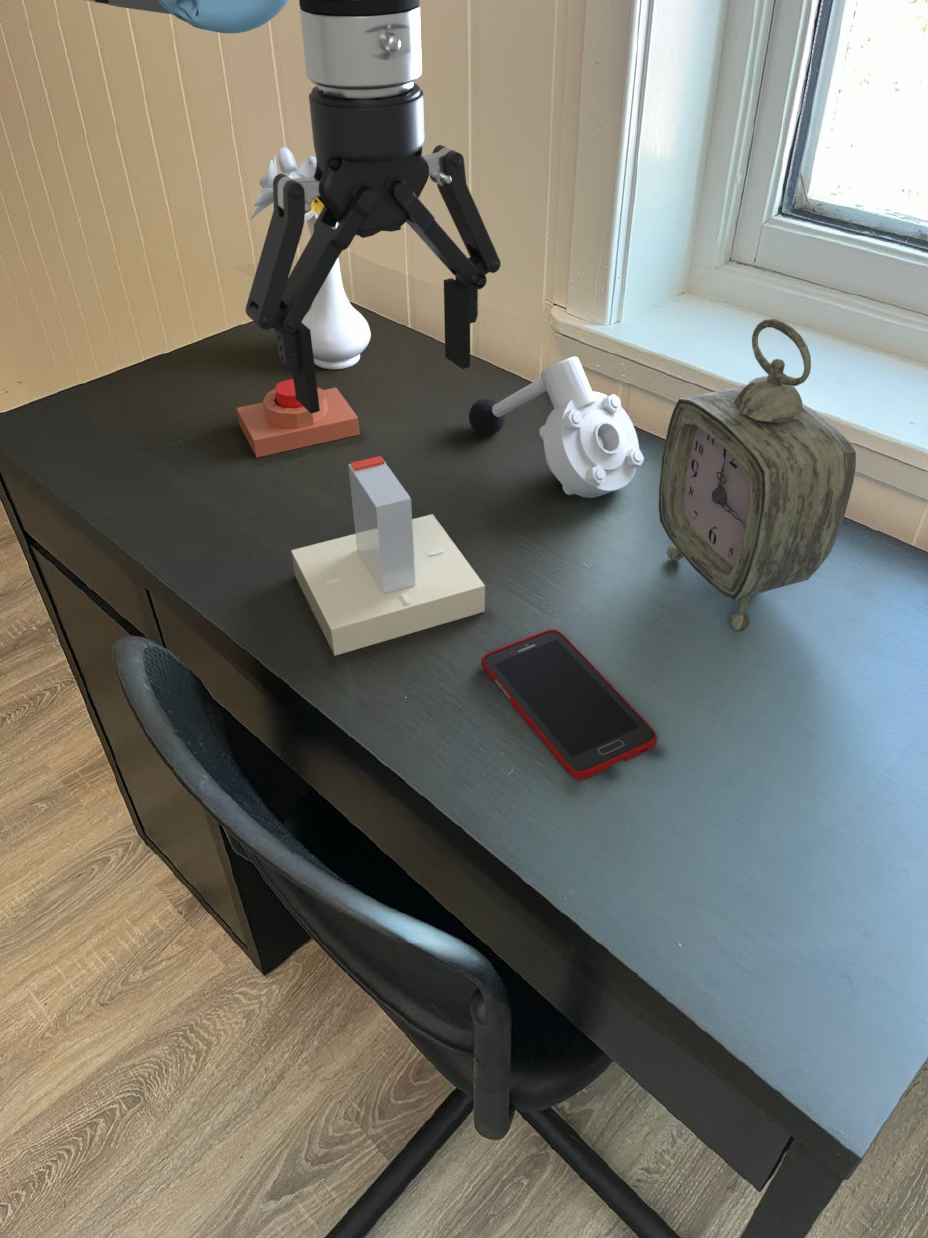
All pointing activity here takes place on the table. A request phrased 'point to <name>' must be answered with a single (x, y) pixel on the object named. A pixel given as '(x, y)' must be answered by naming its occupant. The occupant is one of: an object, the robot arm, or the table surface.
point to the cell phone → (568, 703)
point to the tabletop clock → (754, 482)
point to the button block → (296, 423)
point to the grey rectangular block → (382, 524)
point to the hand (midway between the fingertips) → (385, 383)
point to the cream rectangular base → (369, 616)
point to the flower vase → (331, 314)
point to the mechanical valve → (574, 430)
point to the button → (287, 395)
